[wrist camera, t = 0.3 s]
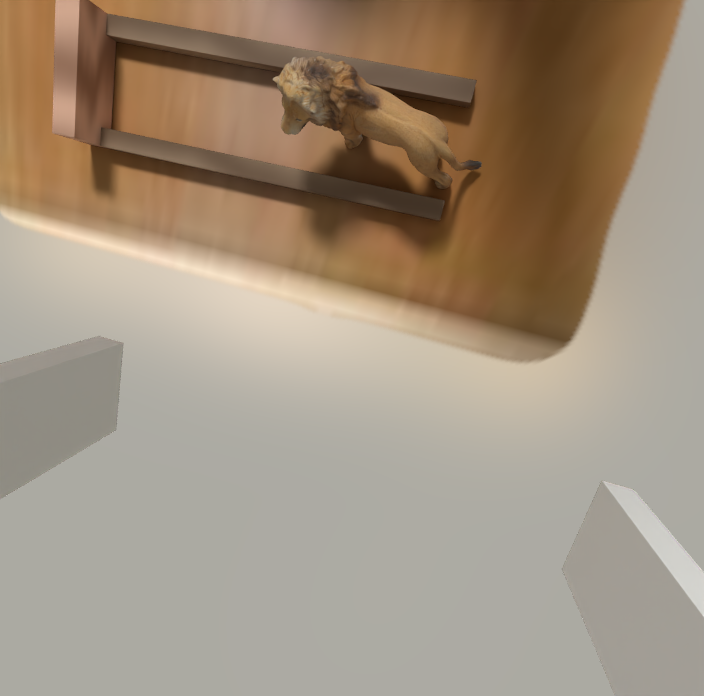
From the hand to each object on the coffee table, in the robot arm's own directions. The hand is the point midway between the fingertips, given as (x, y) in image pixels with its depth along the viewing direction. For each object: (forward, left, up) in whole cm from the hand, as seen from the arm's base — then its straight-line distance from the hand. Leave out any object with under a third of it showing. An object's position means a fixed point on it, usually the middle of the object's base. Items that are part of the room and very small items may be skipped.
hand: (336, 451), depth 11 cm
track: (-13, -13, -27) cm, 32 cm away
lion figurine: (-13, -4, -27) cm, 30 cm away
